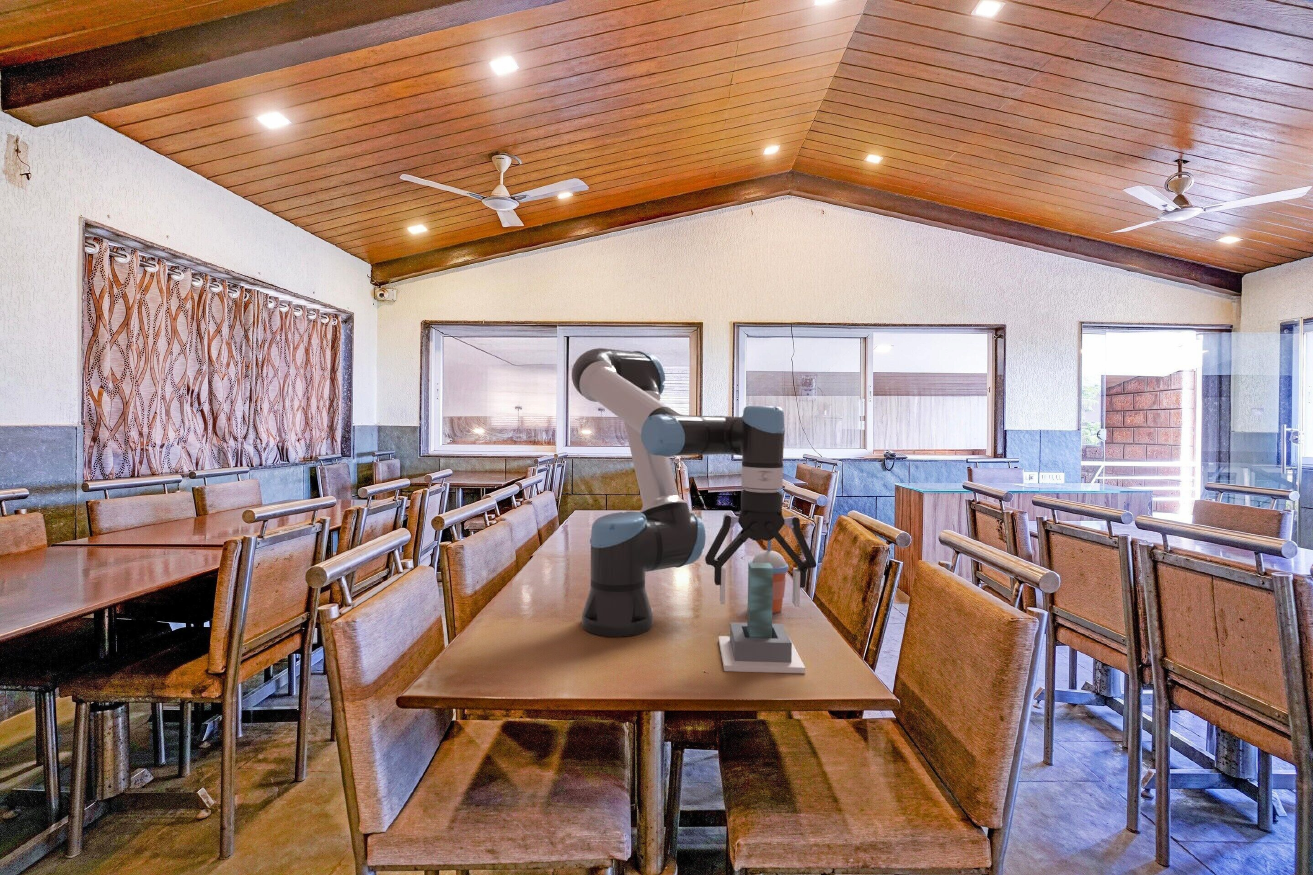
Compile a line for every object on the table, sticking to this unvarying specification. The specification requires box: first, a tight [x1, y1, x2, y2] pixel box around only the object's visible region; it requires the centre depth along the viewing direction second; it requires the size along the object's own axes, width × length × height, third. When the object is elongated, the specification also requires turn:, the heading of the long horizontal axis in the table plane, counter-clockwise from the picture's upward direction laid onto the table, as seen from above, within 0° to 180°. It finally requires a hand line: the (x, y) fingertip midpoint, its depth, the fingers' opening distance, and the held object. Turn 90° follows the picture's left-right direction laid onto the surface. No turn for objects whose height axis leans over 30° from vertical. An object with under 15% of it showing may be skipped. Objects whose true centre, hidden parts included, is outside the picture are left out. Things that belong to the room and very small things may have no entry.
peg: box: [746, 562, 773, 638], centre depth 108 cm, size 4×4×16 cm
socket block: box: [718, 621, 806, 674], centre depth 108 cm, size 14×14×4 cm
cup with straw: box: [749, 539, 790, 614], centre depth 136 cm, size 9×9×18 cm
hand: (758, 603), depth 108 cm, fingers open, 13 cm apart
